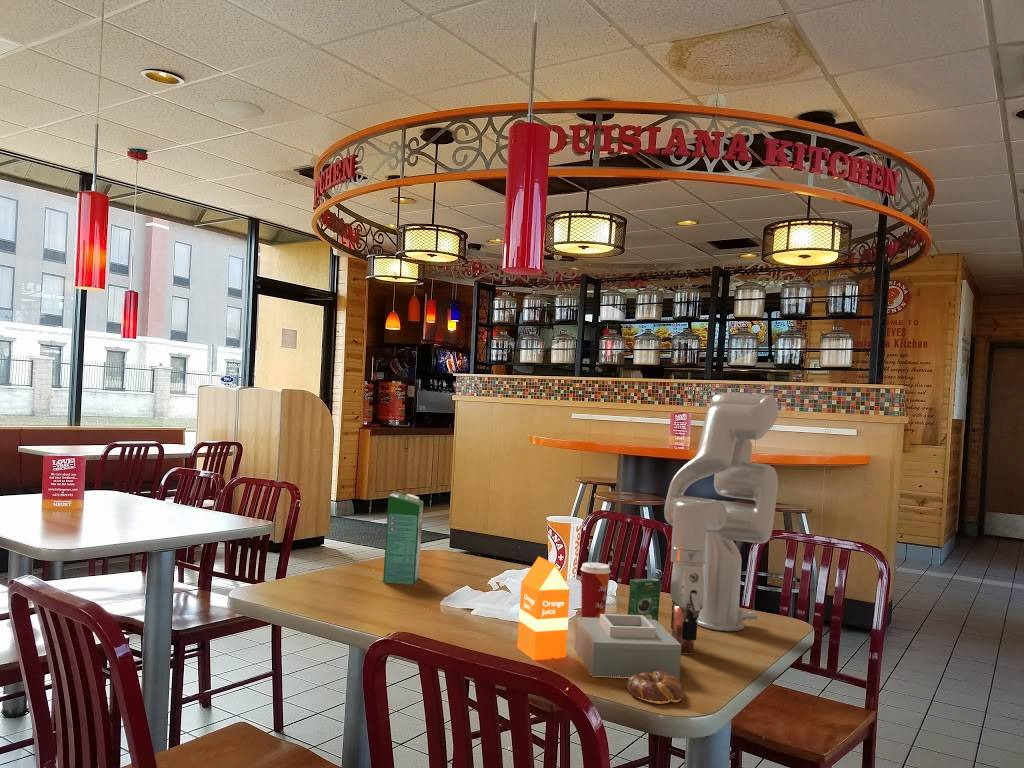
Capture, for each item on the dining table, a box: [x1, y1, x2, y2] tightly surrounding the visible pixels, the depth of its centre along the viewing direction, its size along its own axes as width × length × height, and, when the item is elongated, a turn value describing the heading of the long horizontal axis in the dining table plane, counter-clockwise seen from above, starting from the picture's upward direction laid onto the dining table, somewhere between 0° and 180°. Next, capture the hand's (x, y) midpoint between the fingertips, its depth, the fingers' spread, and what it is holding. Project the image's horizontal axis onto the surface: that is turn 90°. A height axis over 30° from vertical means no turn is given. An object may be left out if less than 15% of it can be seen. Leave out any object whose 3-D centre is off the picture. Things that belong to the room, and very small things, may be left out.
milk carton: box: [382, 491, 424, 585], centre depth 230 cm, size 9×9×25 cm
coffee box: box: [627, 577, 662, 623], centre depth 191 cm, size 8×3×13 cm, turn 123°
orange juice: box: [516, 556, 571, 661], centre depth 172 cm, size 8×9×20 cm
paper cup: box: [580, 561, 612, 618], centre depth 200 cm, size 8×8×14 cm
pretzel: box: [625, 671, 685, 702], centre depth 151 cm, size 12×11×4 cm
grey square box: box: [574, 613, 682, 679], centre depth 168 cm, size 18×18×9 cm
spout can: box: [671, 604, 695, 654], centre depth 179 cm, size 5×5×11 cm
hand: (683, 633), depth 179 cm, fingers open, 6 cm apart
